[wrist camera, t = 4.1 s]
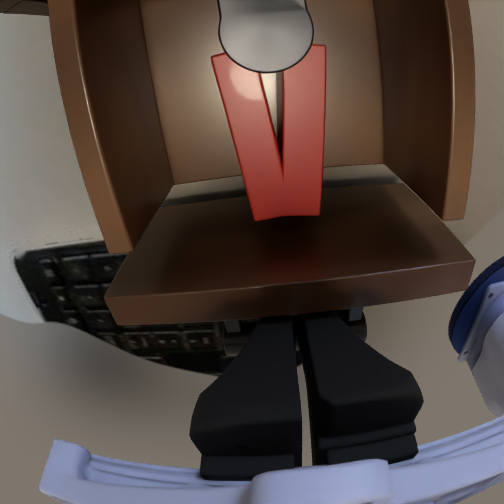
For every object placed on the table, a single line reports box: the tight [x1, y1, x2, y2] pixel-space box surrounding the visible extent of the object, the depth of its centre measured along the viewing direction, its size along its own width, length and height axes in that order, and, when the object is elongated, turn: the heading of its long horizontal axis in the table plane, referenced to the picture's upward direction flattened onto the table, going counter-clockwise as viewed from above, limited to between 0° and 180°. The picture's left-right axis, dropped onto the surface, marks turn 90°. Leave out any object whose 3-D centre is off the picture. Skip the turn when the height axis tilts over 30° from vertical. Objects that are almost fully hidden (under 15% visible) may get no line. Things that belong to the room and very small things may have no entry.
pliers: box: [210, 0, 326, 221], centre depth 9 cm, size 3×9×4 cm, turn 8°
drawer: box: [47, 0, 475, 355], centre depth 9 cm, size 18×11×6 cm, turn 7°
